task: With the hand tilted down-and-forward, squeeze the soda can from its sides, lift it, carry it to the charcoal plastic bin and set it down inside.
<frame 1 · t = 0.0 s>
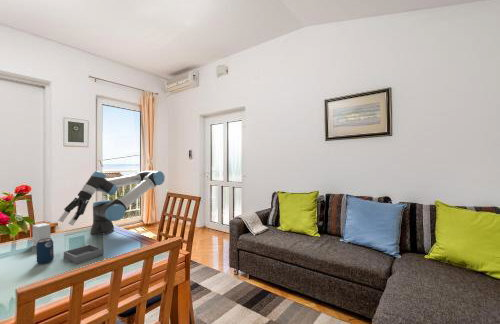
hand: (65, 223, 149), 15 cm above the table, tool tilted 35°, fingers open, 13 cm apart
bin: (83, 256, 136), on the table
soda can: (45, 262, 129), on the table
small box: (41, 245, 154), on the table
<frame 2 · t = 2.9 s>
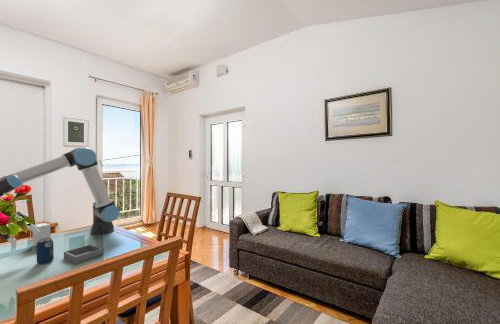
hand: (26, 237, 129), 13 cm above the table, tool tilted 45°, fingers open, 13 cm apart
nothing on the table moved.
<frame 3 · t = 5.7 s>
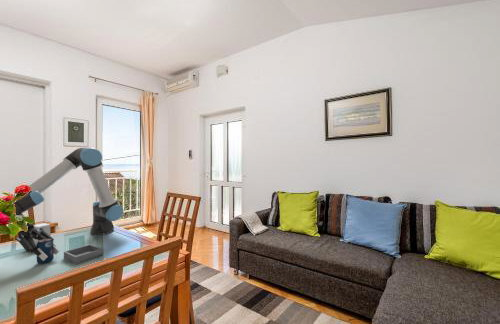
hand: (51, 255, 129), 4 cm above the table, tool tilted 45°, fingers closed on soda can, 7 cm apart
soda can: (45, 262, 129), on the table, touching gripper
everything else where it was.
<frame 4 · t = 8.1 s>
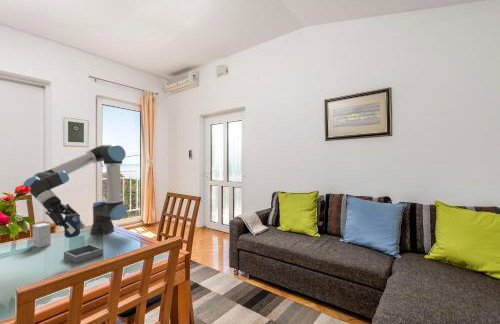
hand: (78, 229, 133), 16 cm above the table, tool tilted 45°, fingers closed on soda can, 7 cm apart
soda can: (72, 236, 133), point 12 cm above the table, touching gripper
everything else where it was.
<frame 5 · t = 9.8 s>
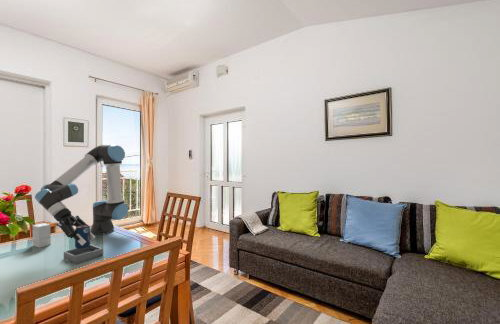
hand: (88, 241, 136), 9 cm above the table, tool tilted 45°, fingers closed on soda can, 7 cm apart
soda can: (82, 247, 136), point 5 cm above the table, touching gripper
everything else where it was.
when the fingers open (7 cm above the table, at t = 10.6 s): soda can drops 3 cm, resting on bin.
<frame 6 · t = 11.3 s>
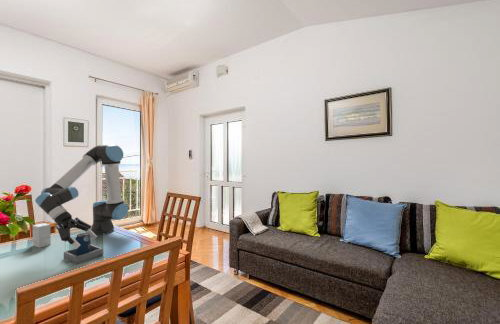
hand: (87, 242, 136), 8 cm above the table, tool tilted 45°, fingers open, 13 cm apart
soda can: (83, 255, 136), point 1 cm above the table, touching bin
everything else where it was.
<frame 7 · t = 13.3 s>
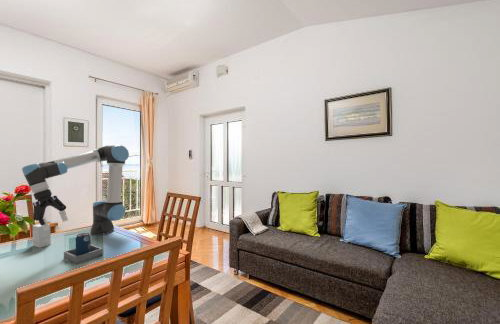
hand: (56, 225, 139), 17 cm above the table, tool tilted 20°, fingers open, 13 cm apart
nothing on the table moved.
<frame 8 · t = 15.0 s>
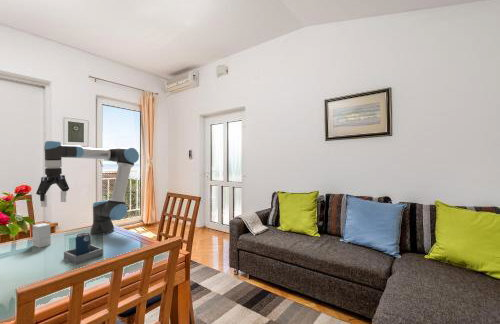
hand: (54, 204, 141), 29 cm above the table, tool pointing down, fingers open, 13 cm apart
nothing on the table moved.
at the end: soda can inside the target area on the bin (0.1 cm from its centre), point 0.6 cm above the bin's base; soda can tilted 0°; the gripper is holding nothing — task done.
